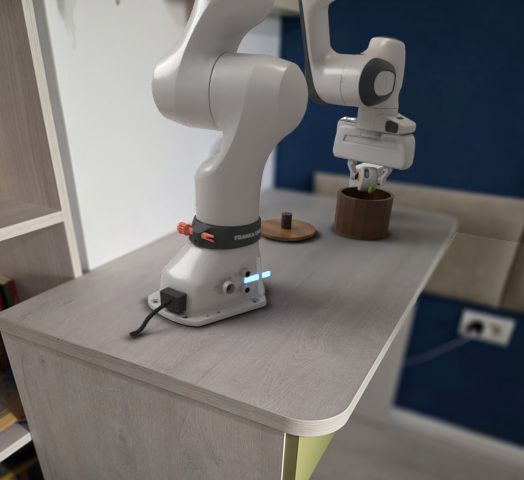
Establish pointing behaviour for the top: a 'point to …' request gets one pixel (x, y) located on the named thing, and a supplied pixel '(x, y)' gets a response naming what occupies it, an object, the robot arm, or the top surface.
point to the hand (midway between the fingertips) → (367, 182)
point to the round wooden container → (363, 213)
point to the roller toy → (367, 179)
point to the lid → (287, 228)
